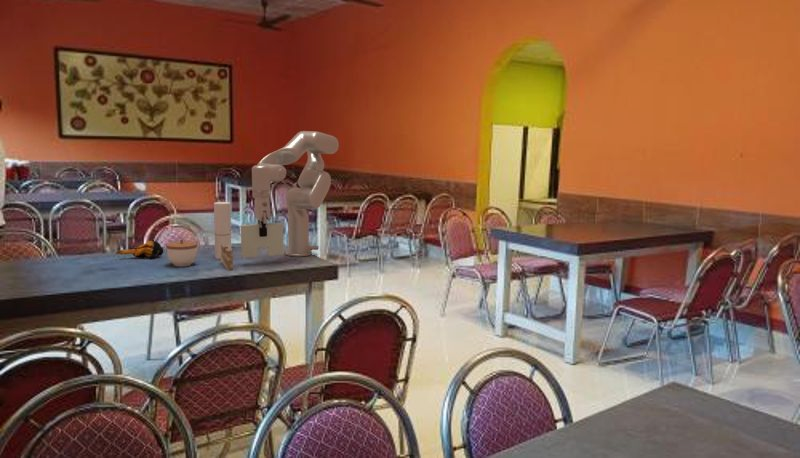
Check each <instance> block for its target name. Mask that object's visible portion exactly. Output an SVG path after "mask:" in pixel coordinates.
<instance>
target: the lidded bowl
mask: <svg viewBox="0 0 800 458" xmlns="http://www.w3.org/2000/svg"><path fill="white" fill-rule="evenodd" d="M165 247H166V255H167V259H168V260H169V262H170V263H171V264H173V267H189V266H191V265H192V264H193V263H194V262H195V260H196V258H197V255H198V243H197V242H195V241H189V240H187V241H184V239H182V238H181V239H179V241H173V242H172V241H171V242H168V243H166V245H165Z"/></svg>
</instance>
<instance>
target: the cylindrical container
mask: <svg viewBox="0 0 800 458" xmlns="http://www.w3.org/2000/svg"><path fill="white" fill-rule="evenodd" d="M231 215H232V214H231V202H229V201H215V202H214V203H213V217H214V218H213V220H214V221H213V222H214V224H213V225H214V258H215V259H218V260H219V259H220V260H221V245H227V246H228V249H231V250H232V225H231V224H232V223H231V222H232V219H231Z"/></svg>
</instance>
